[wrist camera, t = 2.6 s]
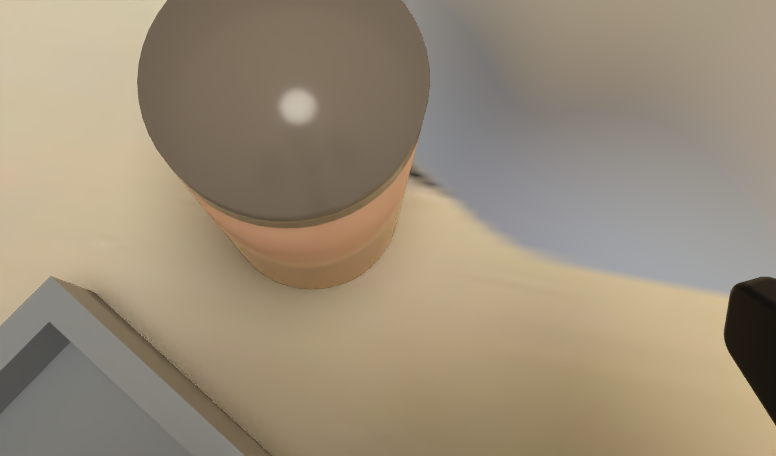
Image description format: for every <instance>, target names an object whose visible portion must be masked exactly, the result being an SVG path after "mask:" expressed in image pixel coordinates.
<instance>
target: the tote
mask: <svg viewBox="0 0 776 456" xmlns="http://www.w3.org/2000/svg"><path fill="white" fill-rule="evenodd" d="M0 456H271V455H270V454H269V453H268V452H267V451H266V450H265V449H264V448H263V447H262V446H261V445H259V444H258V443H257V442H256V441H255V440H254V439H253V438H252V437H251V436H250V435H249V434H248V433H246V432H245V431H244V430H243V429H242V428H241V427H240V426H239V425H238V424H237V423H236V422H234V421H233V420H232V419H231V418H230V417H229V416H228V415H227V414H226V413H225V412H224V411H223V410H221V409H220V408H219V407H218V406H217V405H216V404H215V403H214V402H213V401H212V400H211V399H209V398H208V397H207V396H206V395H205V394H204V393H203V392H202V391H201V390H200V389H199V388H198V387H196V386H195V385H194V384H193V383H192V382H191V381H190V380H189V379H188V378H187V377H186V376H184V375H183V374H182V373H181V372H180V371H179V370H178V369H177V368H176V367H175V366H174V365H173V364H171V363H170V362H169V361H168V360H167V359H166V358H165V357H164V356H163V355H162V354H161V353H159V352H158V351H157V350H156V349H155V348H154V347H153V346H152V345H151V344H150V343H149V342H148V341H146V340H145V339H144V338H143V337H142V336H141V335H140V334H139V333H138V332H137V331H136V330H134V329H133V328H132V327H131V326H130V325H129V324H128V323H127V322H126V321H125V320H124V319H123V318H121V317H120V316H119V315H118V314H117V313H116V312H115V311H114V310H113V309H112V308H111V307H109V306H108V305H107V304H106V303H105V302H104V301H103V300H102V299H101V298H100V297H99V296H98V295H96V294H95V293H94V292H92V291H89V290H86V289H84V288H81V287H78V286H76V285H73V284H70V283H68V282H65V281H62V280H60V279H57V278H54V277H52V276H50V277H49V278H48V279H47V280H46V281H45V282H44V283H43V284H42V285H41V286H40V287H39V288H38V289H37V290H36V291H35V292H34V293H33V294H32V295H31V296H30V297H29V298H28V299H27V300H26V301H25V302H24V303H23V304H22V305H21V306H20V307H19V308H18V309H17V310H16V311H15V312H14V313H13V314H12V315H11V316H10V317H9V318H8V319H7V320H6V321H5V322H4V323H3V324H2V325H1V326H0Z"/></svg>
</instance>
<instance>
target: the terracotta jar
mask: <svg viewBox="0 0 776 456" xmlns="http://www.w3.org/2000/svg"><path fill="white" fill-rule="evenodd" d="M137 84H138V99H139V104H140V109H141V113H142V118H143V120H144V123H145V126H146V128H147V131H148V134H149V136H150V137H151V139H152V141H153V143H154V145H155V147H156V148H157V150H158V152H159V153H160V154H161V156H162V157H163V158H164V160H165V161H166V162H167V164H168V165H169V166H170V167H171V169H172V170H173V171H174V172H175V173H176V175H177V176H178V177H179V178H180V179H181V181H182V182H183V183H184V184H185V185H186V187H187V188H188V189H189V190H190V191H191V193H192V194H193V195H194V196H195V198H196V199H197V200H198V201H199V202H200V204H201V205H202V206H203V207H204V208H205V210H206V211H207V212H208V213H209V214H210V216H211V217H212V218H213V219H214V220H215V222H216V223H217V224H218V225H219V226H220V228H221V229H222V230H223V231H224V232H225V234H226V235H227V236H228V237H229V238H230V240H231V241H232V242H233V243H234V245H235V246H236V247H237V248H238V249H239V251H240V252H241V253H242V254H243V255H244V257H245V258H246V259H247V260H248V261H249V262H250V263H251V264H252V265H253V266H254V267H255V268H256V269H257V270H259V271H260V272H261V273H262V274H264V275H265V276H267V277H269V278H271V279H272V280H274V281H277V282H279V283H282V284H284V285H288V286H291V287H295V288H303V289H322V288H329V287H333V286H337V285H341V284H343V283H346V282H348V281H350V280H352V279H354V278H356V277H358V276H359V275H361V274H362V273H364V272H365V271H366V270H368V269H369V268H370V267H371V266H372V265H373V264H374V263H375V262H376V261H377V260H378V259H379V258H380V257H381V255H382V254H383V253H384V251H385V250H386V248H387V246H388V245H389V243H390V241H391V238H392V236H393V234H394V231H395V227H396V223H397V219H398V216H399V212H400V208H401V204H402V200H403V196H404V193H405V189H406V185H407V181H408V177H409V173H410V169H411V166H412V162H413V158H414V154H415V150H416V146H417V142H418V138H419V135H420V131H421V127H422V123H423V119H424V115H425V112H426V108H427V104H428V97H429V89H430V69H429V62H428V56H427V50H426V47H425V44H424V41H423V38H422V34H421V32H420V30H419V28H418V26H417V24H416V22H415V20H414V18H413V16H412V14H411V13H410V11H409V10H408V8H407V7H406V5H405V4H404V3H403V1H402V0H167V2H166V3H165V4H164V6H163V7H162V9H161V10H160V11H159V13H158V14H157V16H156V18H155V19H154V21H153V23H152V25H151V27H150V29H149V31H148V33H147V36H146V39H145V41H144V44H143V47H142V51H141V56H140V60H139V66H138V79H137Z"/></svg>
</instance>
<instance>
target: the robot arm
mask: <svg viewBox="0 0 776 456" xmlns="http://www.w3.org/2000/svg"><path fill="white" fill-rule="evenodd" d="M724 340H725V344H726V347H727V349H728V351H729V353H730V355H731V356H732V358H733V360H734V361H735V363H736V364H737V366H738V367H739V369H740V370H741V372H742V374H743V375H744V377H745V378H746V380H747V381H748V383H749V385H750V386H751V388H752V389H753V391H754V392H755V394H756V395H757V397H758V399H759V400H760V402H761V403H762V405H763V406H764V408H765V410H766V411H767V413H768V414H769V416H770V417H771V419H772V420H773V422H774V424H775V425H776V279H775V278H771V277H759V278H755V279H752V280H748V281H745V282H741V283H738V284H736V285H735V286H734V287H733V288H732V290H731V292H730V297H729V303H728V309H727V315H726V322H725V328H724Z"/></svg>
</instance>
